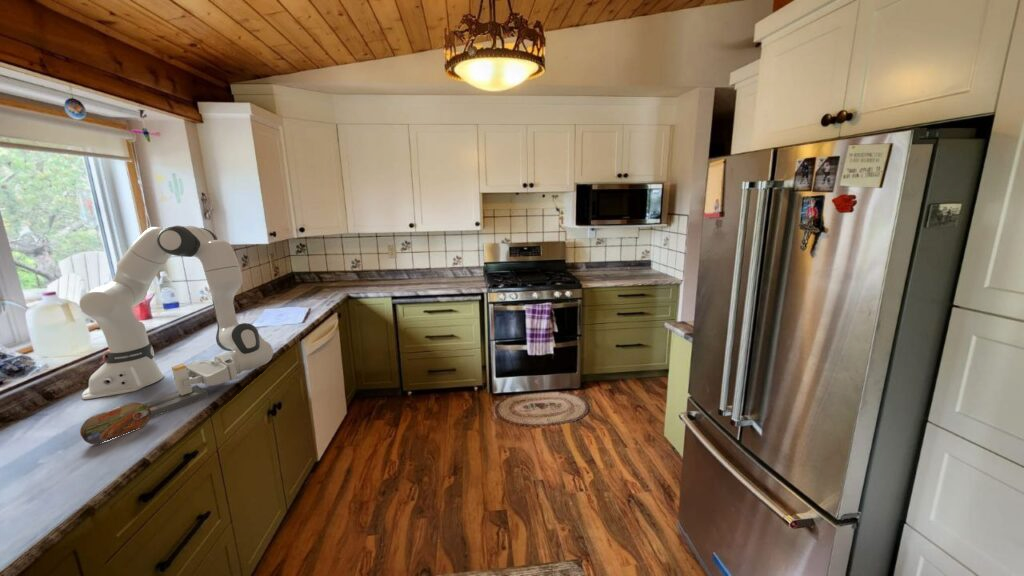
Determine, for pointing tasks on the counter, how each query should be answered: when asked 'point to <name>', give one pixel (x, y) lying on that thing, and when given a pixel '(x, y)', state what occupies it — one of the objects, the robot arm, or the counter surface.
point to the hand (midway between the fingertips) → (179, 381)
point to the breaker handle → (181, 379)
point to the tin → (115, 422)
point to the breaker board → (175, 401)
